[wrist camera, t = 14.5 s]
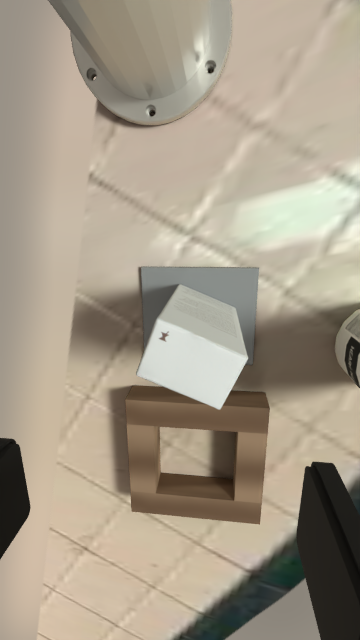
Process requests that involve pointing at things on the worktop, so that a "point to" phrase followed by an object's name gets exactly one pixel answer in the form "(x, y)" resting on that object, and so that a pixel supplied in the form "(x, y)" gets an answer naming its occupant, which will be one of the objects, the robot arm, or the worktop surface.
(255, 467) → the holder block
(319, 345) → the worktop surface
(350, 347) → the supplement can
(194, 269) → the rubber mat
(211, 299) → the skincare box
